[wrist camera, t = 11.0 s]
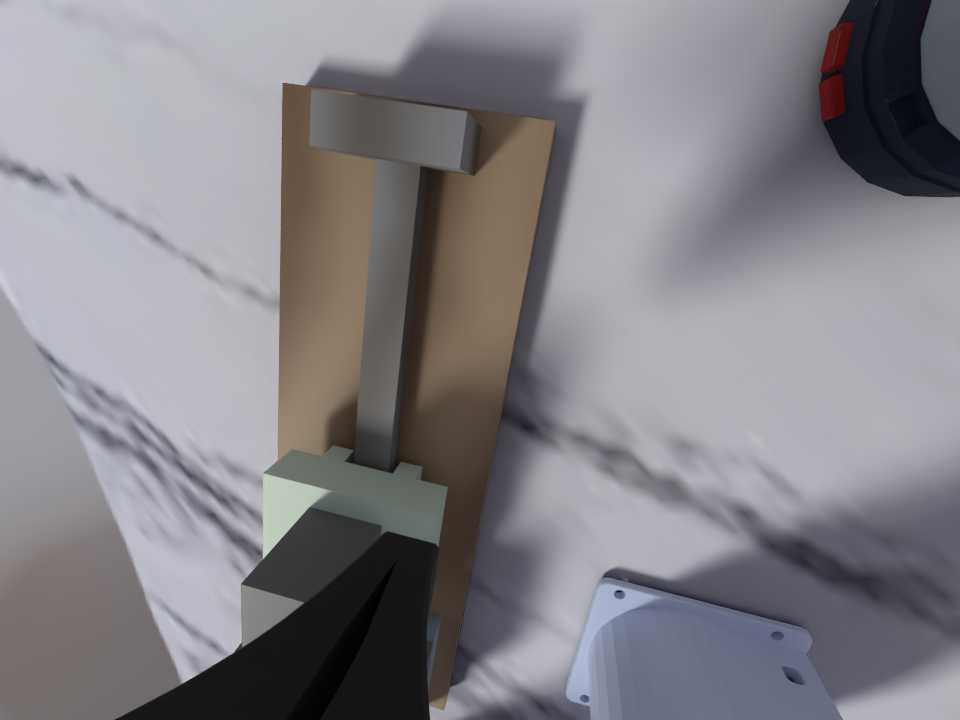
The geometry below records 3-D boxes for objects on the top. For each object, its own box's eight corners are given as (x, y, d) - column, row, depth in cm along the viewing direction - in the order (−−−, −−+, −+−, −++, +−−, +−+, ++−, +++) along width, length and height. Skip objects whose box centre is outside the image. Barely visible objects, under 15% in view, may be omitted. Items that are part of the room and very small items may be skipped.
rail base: (556, 127, 16) (551, 72, 10) (449, 688, 26) (413, 835, 20) (300, 91, 17) (159, 23, 11) (287, 640, 27) (205, 764, 21)
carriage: (453, 474, 20) (397, 602, 13) (436, 581, 22) (380, 740, 15) (304, 438, 20) (181, 542, 14) (300, 544, 22) (191, 679, 16)
